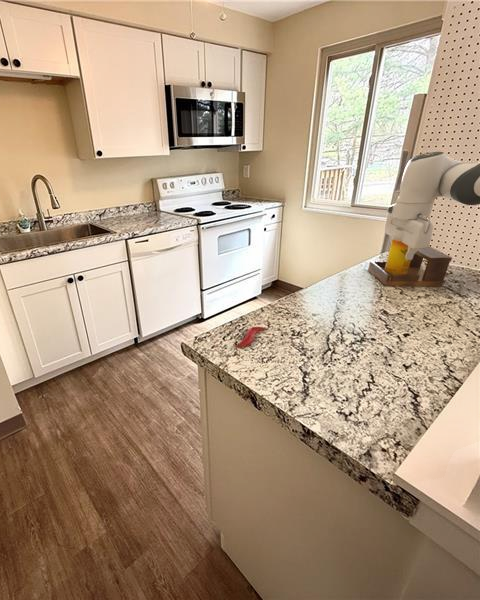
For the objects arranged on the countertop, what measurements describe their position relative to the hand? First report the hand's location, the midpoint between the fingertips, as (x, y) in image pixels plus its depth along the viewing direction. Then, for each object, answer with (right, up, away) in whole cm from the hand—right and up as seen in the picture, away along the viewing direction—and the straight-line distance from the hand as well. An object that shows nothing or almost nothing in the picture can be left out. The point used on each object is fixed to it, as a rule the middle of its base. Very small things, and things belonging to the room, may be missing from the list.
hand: (400, 254), depth 100 cm
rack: (+3, -7, +3) cm, 9 cm away
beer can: (+1, -6, +3) cm, 7 cm away
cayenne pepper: (-56, -25, -20) cm, 65 cm away
